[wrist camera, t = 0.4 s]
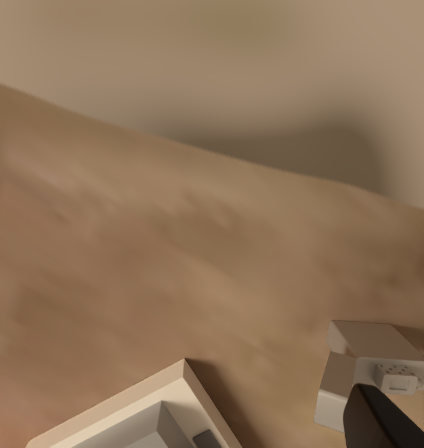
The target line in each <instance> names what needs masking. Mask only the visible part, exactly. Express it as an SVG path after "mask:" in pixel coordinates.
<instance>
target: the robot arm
mask: <svg viewBox="0 0 424 448" xmlns="http://www.w3.org/2000/svg"><path fill="white" fill-rule="evenodd" d="M343 426H344V432H345V439H346V446H347V448H424V432H423V431H422V430H421V429H420V428H419V427H418V426H417V425H416V424H415V423H414V422H413V421H412V420H411V419H410V418H409V417H408V416H406V415H405V414H404V413H403V412H402V411H401V410H400V409H399V408H398V407H397V406H396V405H395V404H394V403H393V402H392V401H391V400H390V399H389V398H388V397H387V396H386V395H385V394H384V393H382V392H381V391H380V390H379V389H378V388H377V387H376V386H374V385H369V384H363V383H356V384H354V386H353V387H352V390H351V392H350V395H349V398H348V400H347V403H346V406H345V408H344V412H343Z"/></svg>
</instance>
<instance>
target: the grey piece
mask: <svg viewBox="0 0 424 448" xmlns="http://www.w3.org/2000/svg"><path fill="white" fill-rule="evenodd" d="M26 448H242V446H241V445H240V443H239V441H238V440H237V438H236V437H235V435H234V434H233V432H232V431H231V429H230V428H229V426H228V425H227V423H226V422H225V420H224V418H223V417H222V415H221V414H220V412H219V411H218V409H217V408H216V406H215V405H214V403H213V402H212V400H211V398H210V397H209V395H208V394H207V392H206V391H205V389H204V388H203V386H202V385H201V383H200V382H199V380H198V379H197V377H196V375H195V374H194V372H193V371H192V369H191V368H190V366H189V365H188V363H187V362H186V360H185V359H182V360H180V361H178V362H176V363H174V364H173V365H171V366H169V367H167V368H165V369H163V370H161V371H159V372H158V373H156V374H154V375H152V376H150V377H148V378H146V379H144V380H143V381H141V382H139V383H137V384H135V385H133V386H131V387H129V388H127V389H126V390H124V391H122V392H120V393H118V394H116V395H114V396H112V397H111V398H109V399H107V400H105V401H103V402H101V403H99V404H97V405H95V406H94V407H92V408H90V409H88V410H86V411H84V412H82V413H80V414H79V415H77V416H75V417H73V418H71V419H69V420H67V421H65V422H64V423H62V424H60V425H58V426H56V427H54V428H52V429H50V430H48V431H47V432H45V433H43V434H41V435H39V436H37V437H35V438H33V439H32V440H30V441H29V443H28V444H27V446H26Z"/></svg>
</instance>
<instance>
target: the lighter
mask: <svg viewBox="0 0 424 448" xmlns="http://www.w3.org/2000/svg"><path fill="white" fill-rule="evenodd" d="M326 343H327V344H328V346H329V347H330V349H331V352H330V355H329V358H328V362H327V365H326V368H325V372H324V375H323V378H322V382H321V385H320V388H319V393H318V399H317V405H316V411H315V417H314V423H317V424H320V425H322V426H325V427H328V428H331V429H333V430H336V431H339V432H342V433H344V426H343V412H344V408H345V406H346V403H347V400H348V398H349V395H350V392H351V390H352V384H353V385H354V384H356V383H363V384H369V385H374V386H376V387H377V388H378V389H379V390H380V391H381V392H382V393H384V394H400V395H414V393H415V391H416V390H420V391H423V390H424V356H423V355H422V354H421V353H420V352H419V351H418V350H417V349H416V348H415V347H414V346H412V345H411V344H410V343H409V342H408V341H407V340H406V339H405V338H404V337H403V336H402V335H401V334H400V333H399V332H398V331H397V330H396V329H395V328H394V327H393V326H392V325H391V324H378V323H364V322H351V321H337V320H332V321H331V322H330V323H329V329H328V335H327V341H326Z"/></svg>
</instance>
